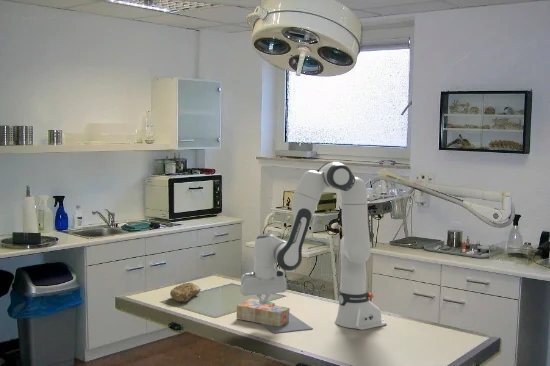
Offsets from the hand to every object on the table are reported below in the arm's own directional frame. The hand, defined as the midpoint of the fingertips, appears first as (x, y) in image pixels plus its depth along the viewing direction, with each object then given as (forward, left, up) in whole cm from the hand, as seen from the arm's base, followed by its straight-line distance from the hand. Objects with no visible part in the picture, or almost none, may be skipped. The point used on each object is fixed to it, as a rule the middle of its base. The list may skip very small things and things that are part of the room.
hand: (263, 303), depth 266 cm
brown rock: (+21, -48, -10) cm, 53 cm away
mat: (-9, -1, -9) cm, 13 cm away
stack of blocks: (+2, -2, -6) cm, 6 cm away
